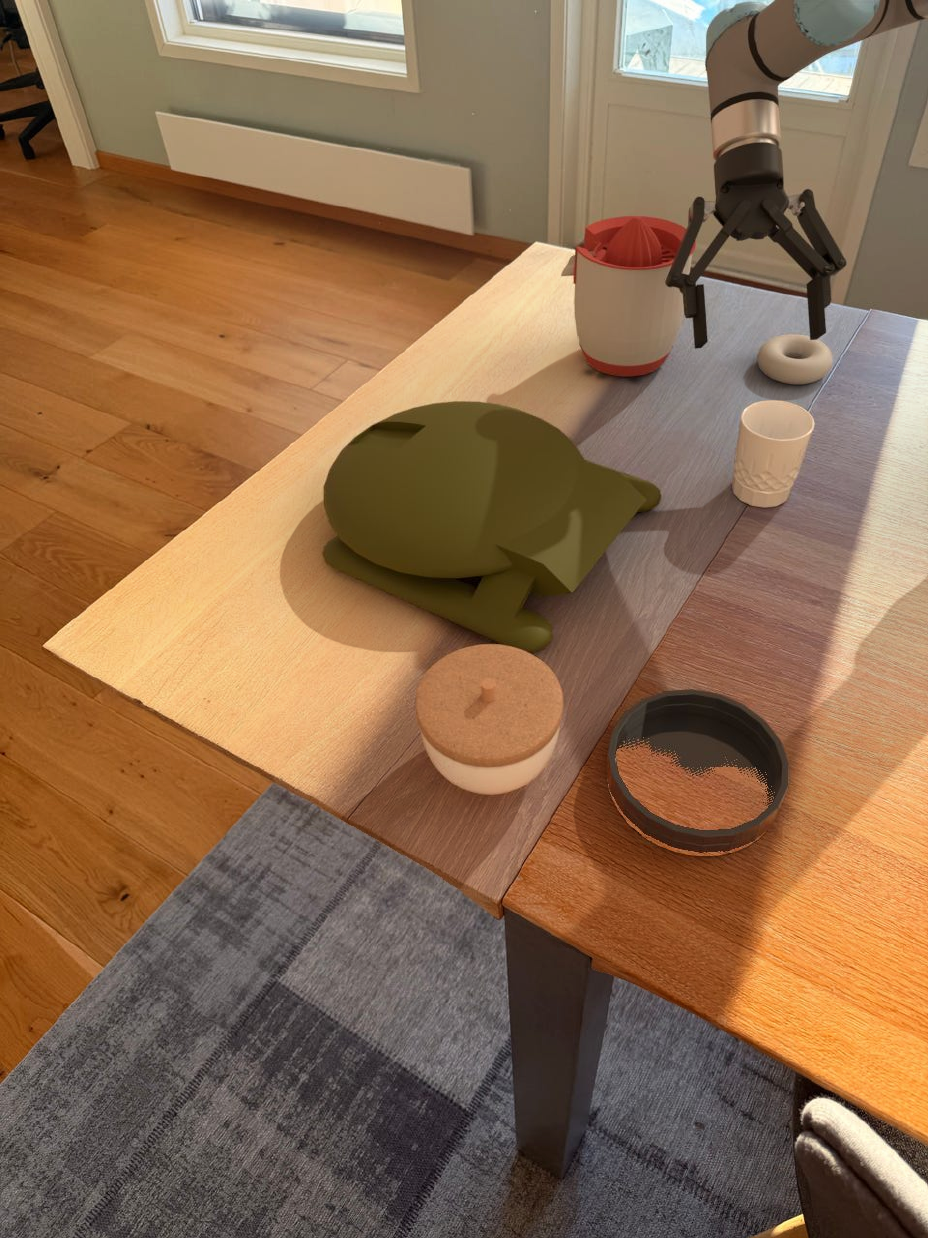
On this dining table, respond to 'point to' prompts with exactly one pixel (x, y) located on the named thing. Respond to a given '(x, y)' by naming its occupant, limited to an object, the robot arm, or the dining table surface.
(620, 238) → the citrus juicer
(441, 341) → the dining table surface
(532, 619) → the spaceship
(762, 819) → the dark grey round dish
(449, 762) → the lidded bowl
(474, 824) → the dining table surface
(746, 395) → the dining table surface
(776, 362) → the donut
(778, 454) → the white cup
